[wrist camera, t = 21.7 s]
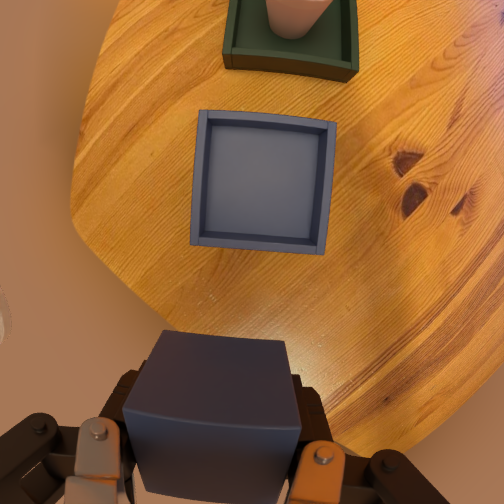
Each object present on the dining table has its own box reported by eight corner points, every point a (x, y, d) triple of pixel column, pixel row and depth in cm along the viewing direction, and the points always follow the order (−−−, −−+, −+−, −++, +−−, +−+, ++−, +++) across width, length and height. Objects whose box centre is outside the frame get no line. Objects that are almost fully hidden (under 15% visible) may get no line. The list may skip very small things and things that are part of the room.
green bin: (225, 69, 23) (221, 54, 19) (237, -18, 20) (235, -37, 17) (346, 83, 23) (359, 71, 19) (345, -4, 20) (354, -21, 17)
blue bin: (197, 236, 26) (189, 245, 23) (205, 118, 24) (198, 109, 20) (315, 246, 26) (324, 255, 23) (325, 129, 24) (337, 122, 20)
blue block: (169, 413, 12) (145, 492, 7) (162, 328, 10) (120, 408, 6) (270, 423, 12) (276, 505, 7) (284, 339, 11) (303, 427, 6)
